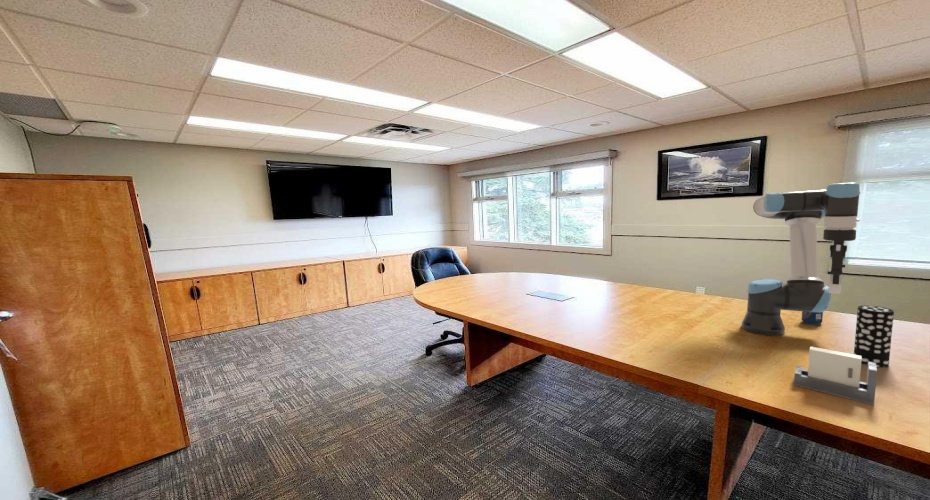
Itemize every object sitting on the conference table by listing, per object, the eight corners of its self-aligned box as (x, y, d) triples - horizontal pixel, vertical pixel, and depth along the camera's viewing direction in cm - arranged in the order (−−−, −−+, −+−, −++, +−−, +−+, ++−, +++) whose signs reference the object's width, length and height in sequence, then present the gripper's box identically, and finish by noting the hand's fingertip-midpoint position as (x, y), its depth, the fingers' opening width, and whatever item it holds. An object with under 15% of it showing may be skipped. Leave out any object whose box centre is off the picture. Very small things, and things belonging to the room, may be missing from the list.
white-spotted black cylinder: (893, 369, 119) (899, 313, 116) (858, 364, 123) (863, 310, 121) (881, 359, 126) (886, 306, 123) (849, 355, 130) (853, 304, 128)
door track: (793, 385, 113) (795, 354, 111) (795, 377, 117) (797, 348, 116) (873, 405, 100) (877, 371, 99) (872, 395, 105) (875, 362, 103)
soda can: (797, 320, 167) (798, 297, 165) (813, 320, 166) (815, 296, 164) (809, 325, 160) (811, 301, 158) (826, 325, 159) (828, 300, 157)
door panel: (807, 384, 111) (809, 349, 110) (807, 380, 114) (810, 346, 112) (858, 397, 103) (861, 359, 102) (858, 392, 106) (861, 355, 104)
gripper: (857, 232, 105) (851, 298, 108) (855, 225, 122) (851, 283, 124) (822, 231, 111) (817, 295, 114) (825, 225, 127) (821, 281, 130)
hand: (835, 289), depth 119 cm, fingers open, 13 cm apart
